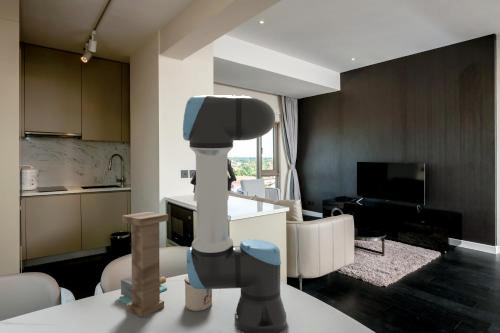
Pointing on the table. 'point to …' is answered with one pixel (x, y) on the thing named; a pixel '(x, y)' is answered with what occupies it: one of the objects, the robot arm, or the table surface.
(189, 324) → the table surface
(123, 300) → the mat
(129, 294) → the mallet
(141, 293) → the stand
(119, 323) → the table surface
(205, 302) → the teacup with lid
